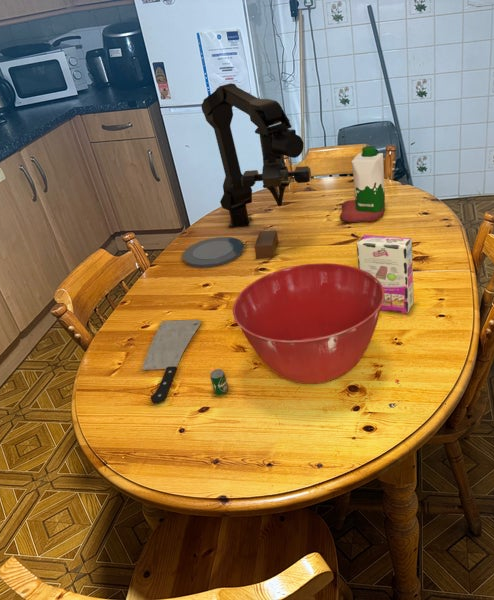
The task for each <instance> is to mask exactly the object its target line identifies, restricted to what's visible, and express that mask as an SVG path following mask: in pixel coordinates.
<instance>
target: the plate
mask: <svg viewBox="0 0 494 600" xmlns="http://www.w3.org/2000/svg"><path fill="white" fill-rule="evenodd" d="M244 251H245V244H244V242H243V241H242V240H240V239H239V238H236V237H230V236H219V237H212V238H206V239H203V240H201V241H198V242H196V243H193V244H192V245H190V246H189V247H187V248H186V249H185V250H184V251H183V253H182V260H183V262H184V264H186V265H187V266H189V267H193V268H198V269H199V268H200V269H201V268H203V269H204V268H205V269H206V268H215V267H219V266H222V265H226V264H229V263H231V262H233V261H234V260H236V259H238V258H240V257H241V256H242V255H243V253H244Z"/></svg>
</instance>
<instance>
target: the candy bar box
mask: <svg viewBox="0 0 494 600" xmlns="http://www.w3.org/2000/svg"><path fill="white" fill-rule="evenodd" d="M356 253H357V264H358V268H359V269H362V270H364V271H366V272H368V273H370V274H372V275H373V276H374V277H376V278H377V279H378V280H379V282H380V283H381V284H382V286H383V289H384V301H383V303H382V305H381V308H380V311H386V312H387V311H388V312H392V313H393V312H395V313H401V314H409V312H410V310H411V309H412V307H413V305H414V303H415V302H414V301H415V299H414V298H415V295H414V271H413V270H414V267H413V266H414V265H413V261H414V260H413V238H412V237H401V236H400V237H399V236H384V235H373V234H372V235H371V234H363V235H362V237H361V238H360V239H359V240H358V241H357V242H356Z"/></svg>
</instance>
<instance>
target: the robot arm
mask: <svg viewBox="0 0 494 600" xmlns="http://www.w3.org/2000/svg"><path fill="white" fill-rule="evenodd" d="M233 107H234V108H236V109H238V110H239V111H240V112H243V113H245V115H246V114H247V115H248V116H249V120H250V122H251V123H253V125H255V126H256V129H255V130H254V133H255V134H257V135H258V136H259V141H260V148H261V149H260V150H261V154H262V163H263V164H262V169H261V170H262V173H259V170H258V169H254V170H245V171H244V172H243V173H242V170H241V165H240V161H239V158H238V153H237V148H236V144H235V140H234V137H233V132H232V127H231V125H232V120H233V117H234V111H233ZM201 111H202V114H203V115H204V119H205V121H206V122H207V123H208V124H209V126H211V128H212V129H213V131H214V135H215V139H216V144H217V147H218V151H219V155H220V158H221V164H222V167H223V171H224V175H225V177H224V180H223V183H222V191H223V195H222V197H221V199H220V201H219V203H220V206H221V208H222V209H224V210H226V211H228V214H229V218H230V223H229V224H228V228H229V229H230V228H242V227H243V228H245V227H249V226H250V224H251V221H252V217H251V216H249V214H248V208H247V205H248V204H251V203H252V201H253V189H252V187H253V186H255V184H256V182H262V187H263V189H267V190H268V191H269V192H270V193H271V195H272V197H273V198H274V200H275V202H276V204H277V206H278V207H282V205H283V201H284V195H285V190H286V188H287V187H290V184H291V181H292V179H294V182H296V183H297V184H304V183H310V181H311V177H312V172H311V168H310V167H309V165H305V166H296V167H295V169H294V171H293V170H291V171H289V168H288V166H286V161H285V157H289V158H293V159H295V158H298V157H300V156H301V154H302V153H303V151H304V148H305V147H304V146H305V144H304V141H303V138H302V137H301V136H300V135H298V134H297V131H296V129H293V128H292V123H290V119H289V117H288V116H287V115H286V113H285V111H284V109H283V107H282V106H281V104H280V103H279V102H278V101H277V100H274V99H271V98H258V97H257V96H255V95H253V94H250V93H249V92H247V91H245V90H244V89H242V88H239V87H238V86H237V85H236V83H231V82H230V83H227V84H222V85H219V86H218V87H217V88H216V89H215V90H214V91H213V92H212V93H210V94H209V95H208V96H206V97H205V98H204V99H203V101H202V103H201Z"/></svg>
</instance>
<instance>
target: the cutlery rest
mask: <svg viewBox="0 0 494 600" xmlns="http://www.w3.org/2000/svg"><path fill="white" fill-rule="evenodd" d="M278 245H279V237H278V232H277V229H276V230H273V229H272V230H261V231H259V233H258V235H257V239H256V241H255V243H254V246H253V247H254V253H255V256H256V260H260V259H262V260H263V259H274V258H275V256H276V252H277V249H278Z"/></svg>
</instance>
